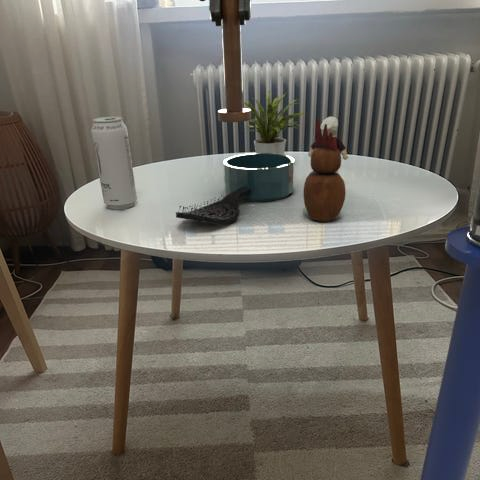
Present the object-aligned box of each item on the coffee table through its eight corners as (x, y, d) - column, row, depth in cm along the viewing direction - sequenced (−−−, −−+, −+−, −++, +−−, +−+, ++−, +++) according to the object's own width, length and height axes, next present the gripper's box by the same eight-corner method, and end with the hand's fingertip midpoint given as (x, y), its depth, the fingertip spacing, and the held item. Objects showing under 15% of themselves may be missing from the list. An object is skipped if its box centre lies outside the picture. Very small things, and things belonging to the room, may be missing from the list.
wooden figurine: (297, 215, 83) (299, 119, 75) (327, 210, 85) (332, 116, 77) (317, 227, 77) (322, 126, 70) (348, 221, 79) (357, 122, 71)
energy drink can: (102, 203, 93) (87, 118, 85) (134, 198, 94) (122, 115, 87) (107, 212, 88) (91, 122, 80) (140, 207, 89) (128, 119, 82)
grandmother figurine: (345, 182, 99) (350, 114, 93) (345, 187, 96) (351, 118, 90) (307, 181, 101) (309, 115, 94) (306, 186, 97) (308, 118, 91)
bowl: (303, 187, 97) (304, 155, 94) (275, 206, 87) (275, 171, 84) (245, 180, 103) (244, 151, 100) (212, 198, 93) (210, 165, 90)
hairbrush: (281, 179, 92) (206, 210, 73) (281, 198, 93) (208, 235, 74) (243, 175, 95) (162, 204, 76) (243, 194, 97) (164, 227, 78)
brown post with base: (256, 117, 70) (254, -19, 62) (241, 122, 66) (236, -21, 58) (228, 116, 72) (222, -16, 64) (212, 121, 68) (203, -18, 60)
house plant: (258, 182, 101) (257, 96, 93) (223, 170, 112) (219, 91, 103) (312, 171, 108) (315, 89, 100) (274, 160, 118) (274, 85, 110)
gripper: (175, -114, 62) (168, -4, 58) (285, -121, 61) (287, -10, 57) (185, -55, 70) (180, 46, 65) (284, -61, 69) (285, 42, 64)
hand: (230, 19), depth 61 cm, fingers closed on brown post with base, 2 cm apart
